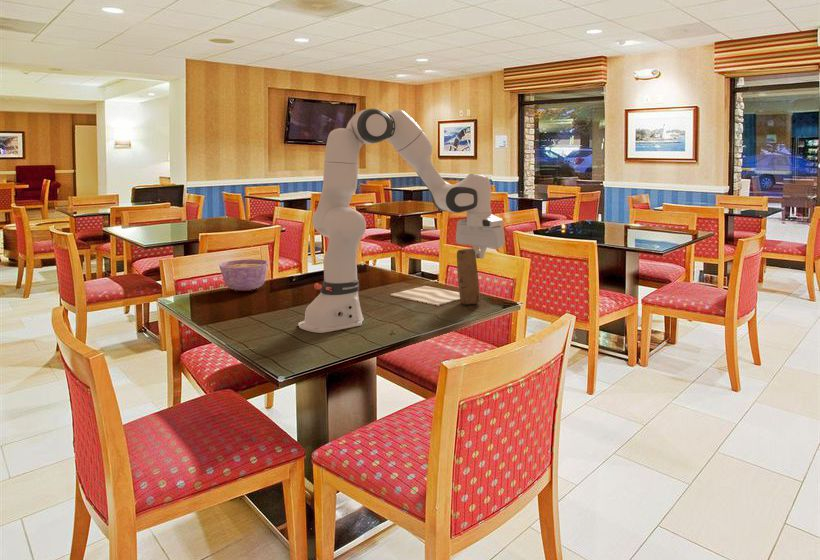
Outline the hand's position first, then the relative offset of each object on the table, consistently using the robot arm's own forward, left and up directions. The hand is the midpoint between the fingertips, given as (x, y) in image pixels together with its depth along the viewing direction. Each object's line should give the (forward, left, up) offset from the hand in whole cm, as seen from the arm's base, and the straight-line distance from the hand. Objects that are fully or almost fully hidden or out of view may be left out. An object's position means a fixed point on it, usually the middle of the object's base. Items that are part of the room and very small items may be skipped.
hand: (479, 258), depth 223 cm
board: (0, +24, -18) cm, 30 cm away
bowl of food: (-43, +91, -18) cm, 103 cm away
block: (0, +4, -17) cm, 18 cm away
